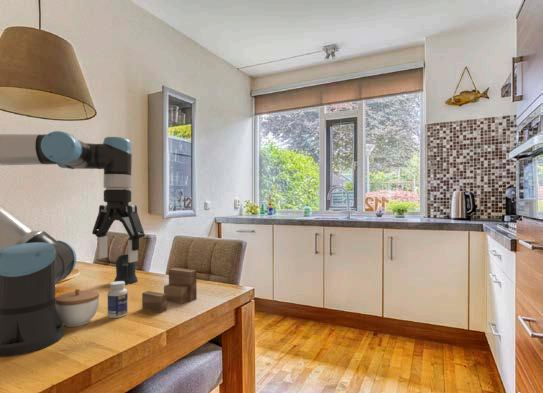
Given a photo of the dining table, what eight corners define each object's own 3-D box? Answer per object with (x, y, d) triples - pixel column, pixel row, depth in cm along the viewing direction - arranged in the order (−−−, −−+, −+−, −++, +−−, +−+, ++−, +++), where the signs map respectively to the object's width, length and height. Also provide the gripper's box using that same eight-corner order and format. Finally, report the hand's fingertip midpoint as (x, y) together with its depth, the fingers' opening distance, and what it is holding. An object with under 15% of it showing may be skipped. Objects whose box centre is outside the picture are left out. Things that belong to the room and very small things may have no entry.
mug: (114, 280, 136) (114, 254, 136) (137, 278, 139) (137, 253, 139) (112, 287, 124) (112, 259, 125) (137, 285, 128) (137, 257, 128)
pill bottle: (119, 319, 92) (119, 285, 92) (103, 317, 93) (103, 284, 93) (131, 312, 97) (131, 280, 97) (116, 311, 98) (115, 280, 98)
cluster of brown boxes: (162, 313, 96) (162, 280, 96) (140, 308, 101) (140, 276, 101) (196, 299, 110) (196, 270, 110) (175, 295, 114) (174, 267, 114)
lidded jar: (104, 322, 89) (104, 289, 89) (59, 334, 82) (59, 297, 82) (92, 313, 97) (92, 282, 97) (50, 323, 89) (50, 289, 89)
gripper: (157, 189, 93) (157, 261, 93) (102, 190, 104) (101, 254, 104) (136, 188, 86) (136, 265, 86) (79, 189, 98) (79, 258, 97)
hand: (117, 259), depth 95 cm, fingers open, 13 cm apart
